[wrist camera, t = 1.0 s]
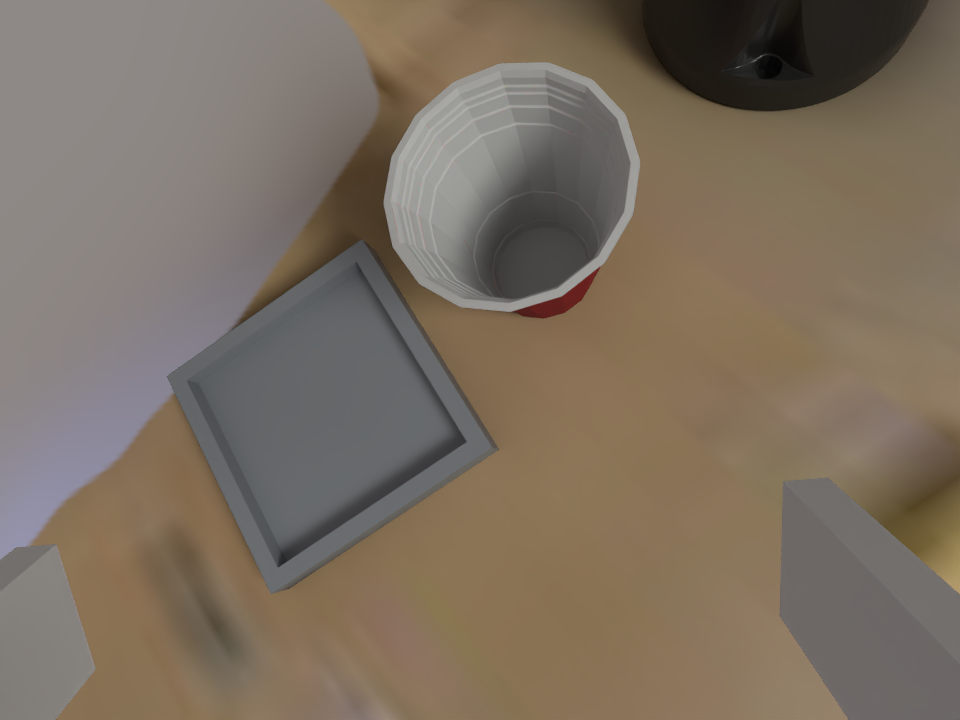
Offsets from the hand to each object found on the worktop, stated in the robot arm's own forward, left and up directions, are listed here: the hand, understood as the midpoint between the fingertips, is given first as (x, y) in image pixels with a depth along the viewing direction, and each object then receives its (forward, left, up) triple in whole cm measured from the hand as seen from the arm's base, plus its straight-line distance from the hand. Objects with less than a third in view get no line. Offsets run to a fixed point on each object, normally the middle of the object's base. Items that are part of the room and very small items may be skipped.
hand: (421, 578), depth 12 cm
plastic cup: (-7, -12, -24) cm, 28 cm away
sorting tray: (+8, -12, -24) cm, 28 cm away
